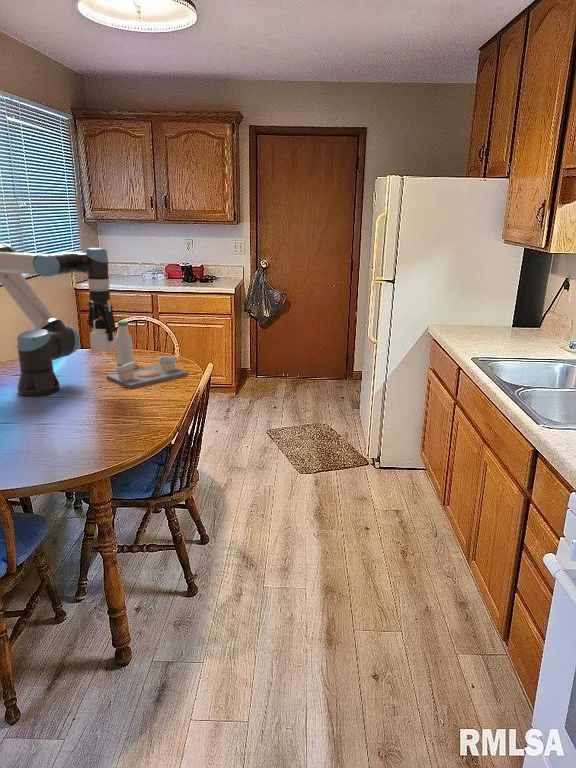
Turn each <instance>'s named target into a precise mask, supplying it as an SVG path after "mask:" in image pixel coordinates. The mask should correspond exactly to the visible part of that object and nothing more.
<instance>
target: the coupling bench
mask: <svg viewBox="0 0 576 768" xmlns="http://www.w3.org/2000/svg"><path fill="white" fill-rule="evenodd" d="M177 361H178V357H177V356H175V355H172V356H170V355H160V356H158V363H160V364H156V365H151V366H145V367H141V368H137V366H136V362H134V361H133V362H130V363H127V364H125V365H119V366H118V367H115V373H112V374H108V375H106V379H107V380H109V381H111V382H114V383H116V384H119V385H121V386H122V387H125V388H127V389H129V390H130V389H134V388H138V387H143V386H148V385H152V384H157V383H161V382H165V381H169V380H174V379H178V378H181V377H182V378H183V377H187V376H188V375H189V372H188V371H186V370H183V369H180V368H177V367H176V363H177ZM186 375H187V376H186Z"/></svg>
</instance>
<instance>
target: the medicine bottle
mask: <svg viewBox="0 0 576 768" xmlns="http://www.w3.org/2000/svg"><path fill="white" fill-rule="evenodd" d="M93 323H94V330H95V331H93V332H92V331H91V332H89V342H90V350H91V352H108V353H109V352H110V351H112V350H113V349H108V350H107V349H106V336H105V332H106V329H105V326H104V322H103V319H102V318H99V319H96V320H94V321H93ZM115 337H116V334H115V332H113V346H114V349H116V348H115Z"/></svg>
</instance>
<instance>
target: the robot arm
mask: <svg viewBox="0 0 576 768" xmlns="http://www.w3.org/2000/svg"><path fill="white" fill-rule="evenodd" d="M108 257H109V256H108V250H106V248H104V247H103V248H102V247H88V248H86V251H85V252H78V251H77V252H76V251H62V252H61V253H31V252H30V253H29V252H17V250H16V249H15V248H14V247H13V246H12V245H10V244H8V243H5V242H4V243H3V242H0V284H1V285H2V287H3V288H4V289H5V291H6V292H7V293H8V295H9V296H10V297H11V298H12V300H13V301H14V302H15V303H16V305H17V306H18V308H19V309H20V310H21V312H22V313H23V315H24V316H25V317H26V318H27V320H28V321H29V323H30V324H31V325H32V326H33V328H34V329H29V330H25V331H23V332H21V333H20V334H19V335H18V336H17V339H16V342H17V344H16V347H17V348H16V349H17V352H18V359H19V360H18V361H19V367H20V375H19V379H18V383H17V393H18V394H19V395H21V396H24V397H41V396H48V395H52V394H54V393H57V392H59V390H60V389H61V386H60V382H59V379H58V377H57V376H56V373H55V371H54V364H53V361H55V360H58V359H61V358H64V357H67V356H70V355H72V354H74V353H75V352H77V351H78V349H79V347H80V335H79V333H78V331H77V329H75V328H74V327H73V326H71V325H66V324H65V323H64V322H63V321H62V320H61V319H60V318H55V316H54V315H53V314H52V313H51V311H50V310H49V308H48V307H47V306H46V304H45V303H44V302H43V301H42V299H41V298H40V297H39V295H38V294H37V293H36V291H35V290H34V289H33V287H32V286H31V285H30V283H29V282H28V280H27V279H26V278H25V277H24V275H23V274H26V275H39V276H40V277H41V276H42V277H54V276H60V275H66V274H73V273H80V274H81V273H83V274H87V282H88V289H89V291H88V293H89V296H88V297H89V300H90V301H88V316H87V317H88V319H87V325H88V326H90V328H91V332H93V331H95V330H94V323H93V321H94V320H96V319H103V322H104V326H105V329H106V332H105V336H106V349H107V350H108V349H112V350H113V349H115V348H114V346H113V332H114V333H115V332H117V327H116V323H115V318H114V313H113V312H114V310H113V306H112V305H109V304H108V301H109V300H111V293H110V292H111V291H110V290H109V289H110V279H109V278H110V276H109V258H108ZM100 317H101V318H100Z"/></svg>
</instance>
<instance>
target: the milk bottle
mask: <svg viewBox="0 0 576 768" xmlns="http://www.w3.org/2000/svg"><path fill="white" fill-rule="evenodd" d="M116 323H117V331H116V334H115V348H114V349H115V359H116V361H115V363H116V365H118V366H122V365H125V364H127V363H130V362H134V349H133V347H134V346H133V338H132V335H131V333H130V331H129V328H128V327H129V323H128V321H127V320H119V321H117V322H116Z"/></svg>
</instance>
